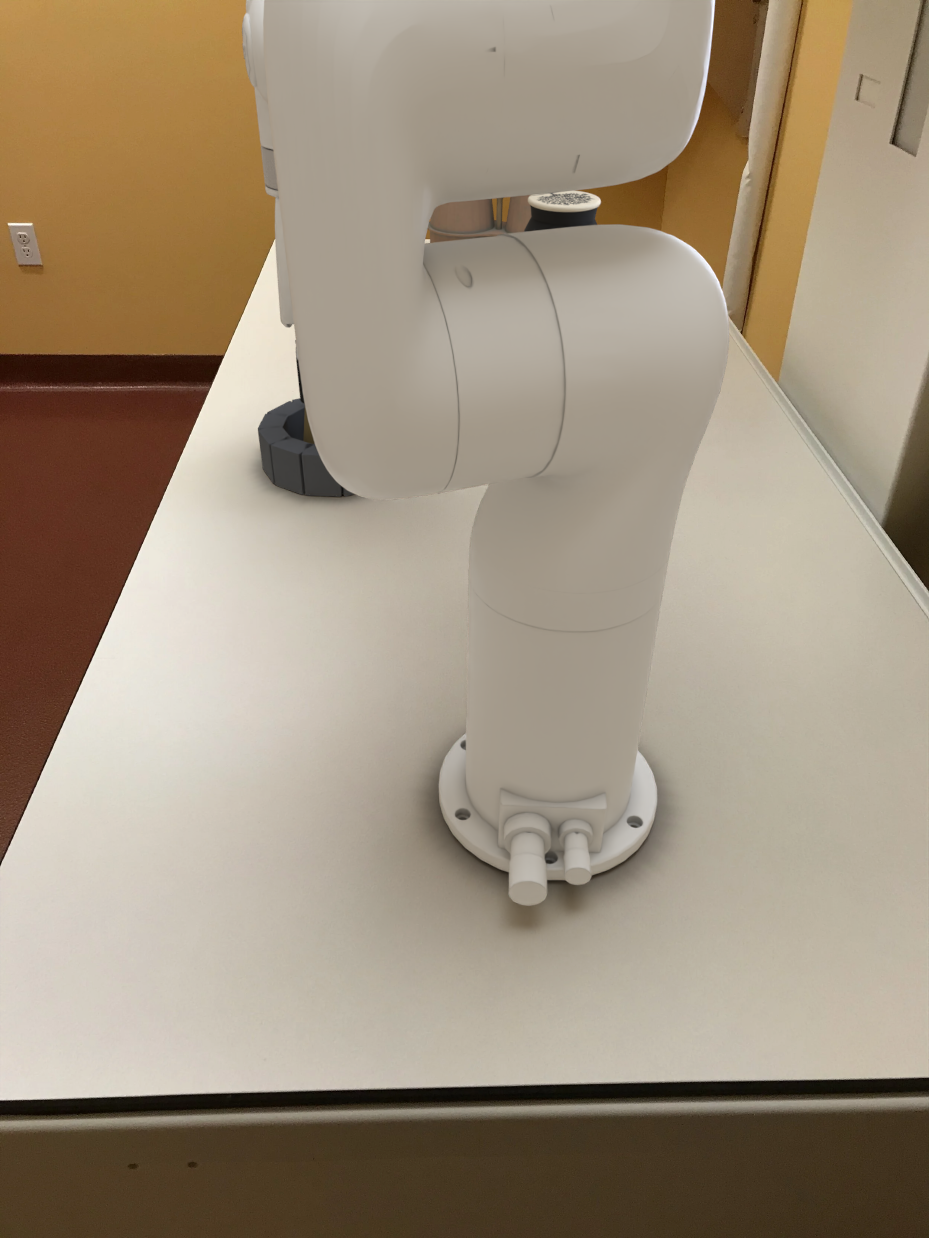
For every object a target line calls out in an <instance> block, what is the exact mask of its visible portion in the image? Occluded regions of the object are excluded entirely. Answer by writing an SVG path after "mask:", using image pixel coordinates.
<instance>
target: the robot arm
mask: <svg viewBox="0 0 929 1238" xmlns="http://www.w3.org/2000/svg"><path fill="white" fill-rule="evenodd" d="M715 5H716V0H245V14H244V16H243V18H242V25H241V33H242V34H241V36H242V44H241V45H242V53H243V59H244V61H245V69H246V74H247V77H248V80H249V83H250V84H251V86H252V87H253V88H254V96H255V97H254V98H255V106H256V115H257V125H258V135H259V143H260V151H261V162H262V171H263V180H264V181H263V182H264V190H265V193H266V195H267V196H271V197H273V198H275V200H274V241H275V243H274V244H275V262H276V263H275V264H276V276H277V277H276V278H277V289H278V290H277V291H278V292H277V293H278V304H279V305H278V306H279V318H280V322H281V324H282V325H283V326H284V327H285V328H291V327H292V326H293V328H294V334H295V335H294V336H295V341H294V343H295V362H296V373H297V380H298V391H299V398H300V400H301V402H302V403H304V404H305V407H306V412H307V417H308V422H309V425H310V429H311V432H312V435H313V439H314V442H315V446H316V448H317V451H318V453H319V455H320V458H321V460H322V462H323V464H324V465H325V467H326V469H327V470H328V472H329V473H330V475H331V476H332V477H333V478H334V479H335V481H336V482H337V483H339V484H340V485H341V486H342V487H344V488H345V489H346V490H347V491H349V492H352V493H354V494H353V495H355V496H358V497H360V498H361V497H362V498H365V499H369V500H377V501H396V500H405V499H412V498H421V497H426V496H431V495H437V494H438V495H439V494H444V493H450V492H455V491H456V492H457V491H460V490H466V489H470V488H476V487H477V488H478V487H482V486H486V485H487V488H486V489H485V492H484V494H483V496H482V498H481V500H480V503H479V506H478V508H477V511H476V514H475V517H474V519H473V522H472V523H473V524H472V526H471V527H472V528H471V533H470V537H469V548H468V569H467V635H466V636H467V637H466V639H467V640H466V641H467V642H466V710H465V712H466V713H465V718H466V719H465V733H464V734H462V735H461V736H460V737H459V738H458V739H457V740H456V741H455V742H454V743H453V745H451V748H450V749H449V751H447V753H446V755H445V757H444V759H443V762H442V764H441V766H440V770H439V777H438V803H439V807H440V810H441V813H442V816H443V820H444V822H445V823H446V825H447V827H448V828H449V830H450V832H451V834H452V835H453V836H454V837H455V839H456V840H458V842H459V843H460V844H461V845H462V846H463V847H464V848H465V849H466V850H468V851H469V852H470V853H471V854H473V855H474V856H476V858H478V859H479V860H481V861H482V862H485V863H486V864H489V865H490V866H492V867H494V868H496V869H498V870H501V871H502V872H503V871H504V872H506V873H508V897H509V898H510V900H511V901H512V902H514V903H516V904H517V905H520V906H527V907H531V906H536V905H540V904H541V903H542V902H543V901H546V898H547V896H548V881H566V883H568V884H569V885H573V886H581V885H583V886H584V885H586V884H588V883H589V882H590V881H591V879H592V876H594V875H597V874H600V873H603V872H606V871H609V870H611V869H612V868H614V867H616V866H618V865H619V864H621V863H623V862H625V861H626V860H628V858H630V857H631V856H632V855H633V854H634V853H635V852H637V851H638V850H639V849H640V847H641V846H642V845H643V843H644V842H645V841H646V839H647V838H648V836H649V834H650V832H651V829H652V827H653V826H654V822H655V818H656V811H657V808H658V787H657V782H656V779H655V776H654V771H652V768H651V766H650V765H649V763H648V761H647V759H646V758H645V757H644V755H643V754H642V753H641V752H640V750H639V744H640V738H641V732H642V725H643V719H644V713H645V707H646V700H647V693H648V688H649V683H650V676H651V671H652V670H651V669H652V663H653V657H654V652H655V644H656V639H657V631H658V626H659V619H660V613H661V607H662V601H663V595H664V590H665V586H666V585H665V584H666V578H667V573H668V567H669V561H670V560H669V559H670V555H671V550H672V543H673V538H674V534H675V527H676V523H677V519H678V516H679V510H680V508H681V507H680V506H681V502H682V498H683V494H684V491H685V488H686V485H687V482H688V478H689V476H690V472H691V470H692V467H693V464H694V461H695V458H696V456H697V453H698V451H699V448H700V446H701V443H702V441H703V439H704V436H705V434H706V431H707V429H708V426H709V423H710V421H711V418H712V415H713V414H714V411H715V408H716V405H717V402H718V399H719V396H720V394H721V389H722V385H723V382H724V378H725V373H726V369H727V364H728V357H729V350H730V349H729V348H730V318H729V312H728V307H727V306H728V305H727V301H726V297H725V294H724V291H723V288H722V286H721V283H720V281H719V279H718V277H717V275H716V273H715V272H714V270H713V268H712V267H711V265H710V264H709V263H708V262H707V260H706V259H705V258H704V257H703V256H702V255H701V253H699V252H698V251H697V250H696V249H695V248H694V247H692V246H691V245H690V244H688V243H687V242H684V240H682V239H679V238H678V237H676V236H675V235H673V234H670V233H667V232H664V231H662V230H659V229H656V228H651V227H646V226H637V225H629V224H619V223H617V224H615V223H614V224H597V225H589V226H577V227H566V228H556V229H547V230H537V231H527V232H518V233H508V234H499V235H497V236H493V237H483V238H473V239H463V240H454V241H444V242H434V243H430V242H426V239H427V238H426V237H427V233H428V224H429V222H430V220H431V216H432V214H433V211H434V210H435V208H436V207H437V206H439V205H442V204H445V203H449V202H461V201H473V200H483V199H492V200H493V199H497V198H503V199H504V198H510V197H514V196H524V195H535V194H545V193H555V192H565V191H583V190H592V189H598V188H606V187H612V186H617V185H622V184H627V183H630V182H634V181H639V180H641V179H645V178H646V177H648V176H651V175H654V174H656V173H658V172H660V171H662V169H664V168H665V167H667V166H668V165H669V164H670V163H672V162H674V161H675V160H676V159H677V158H678V157H679V156H680V155H681V153H682V152H683V151H684V150H685V148H686V146H687V145H688V143H689V142H690V139H691V138H692V135H693V134H694V131H695V128H696V126H697V124H698V122H699V121H698V120H699V117H700V113H701V110H702V106H703V101H704V97H705V93H706V88H707V87H706V86H707V80H708V73H709V67H710V60H711V52H712V51H711V49H712V40H713V31H714V19H715V7H716V6H715Z"/></svg>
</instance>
